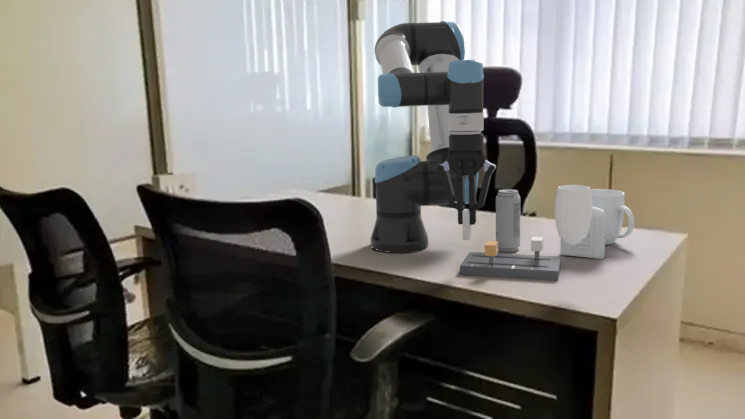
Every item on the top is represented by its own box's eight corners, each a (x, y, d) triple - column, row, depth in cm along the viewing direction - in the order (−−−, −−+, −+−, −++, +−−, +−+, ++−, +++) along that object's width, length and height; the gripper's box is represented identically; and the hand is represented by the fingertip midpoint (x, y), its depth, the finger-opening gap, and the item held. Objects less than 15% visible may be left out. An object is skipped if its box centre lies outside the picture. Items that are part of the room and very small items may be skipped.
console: (460, 274, 145) (459, 265, 145) (469, 259, 156) (469, 251, 156) (557, 280, 138) (558, 270, 138) (560, 264, 150) (561, 255, 149)
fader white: (530, 258, 147) (531, 240, 146) (532, 254, 150) (532, 236, 149) (541, 259, 146) (542, 240, 145) (543, 255, 149) (543, 237, 148)
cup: (563, 294, 130) (565, 191, 126) (547, 283, 137) (548, 185, 133) (596, 290, 131) (600, 188, 127) (579, 280, 138) (581, 183, 134)
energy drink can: (499, 245, 169) (500, 188, 166) (522, 247, 166) (523, 189, 163) (492, 250, 164) (492, 192, 161) (516, 253, 161) (516, 193, 158)
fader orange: (484, 263, 144) (484, 244, 143) (487, 259, 147) (487, 241, 147) (495, 264, 143) (495, 245, 142) (498, 260, 147) (498, 241, 146)
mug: (645, 245, 164) (648, 194, 161) (617, 252, 158) (620, 199, 156) (596, 235, 176) (597, 187, 174) (568, 241, 170) (570, 192, 168)
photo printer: (606, 255, 156) (607, 205, 153) (603, 260, 152) (604, 208, 150) (562, 251, 161) (563, 202, 158) (558, 256, 157) (559, 205, 155)
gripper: (432, 134, 140) (434, 241, 144) (493, 133, 136) (494, 243, 140) (440, 132, 147) (442, 234, 151) (498, 131, 143) (498, 236, 147)
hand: (467, 238), depth 146 cm, fingers closed
